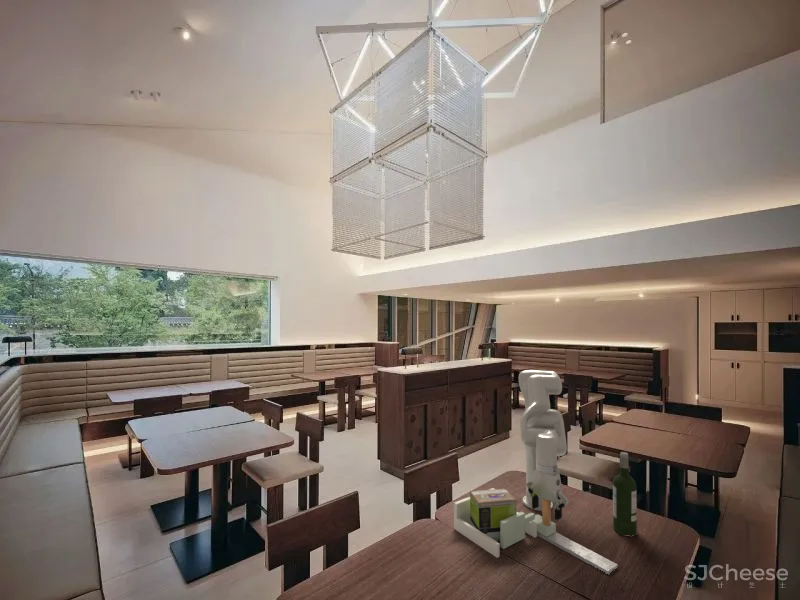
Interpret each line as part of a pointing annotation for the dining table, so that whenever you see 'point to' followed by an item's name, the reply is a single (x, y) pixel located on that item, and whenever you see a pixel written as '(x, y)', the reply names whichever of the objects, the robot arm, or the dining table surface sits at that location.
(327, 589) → the dining table surface
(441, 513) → the dining table surface
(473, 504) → the tea box
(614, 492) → the wine bottle
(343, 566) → the dining table surface
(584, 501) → the dining table surface
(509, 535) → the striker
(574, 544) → the rail
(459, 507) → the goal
